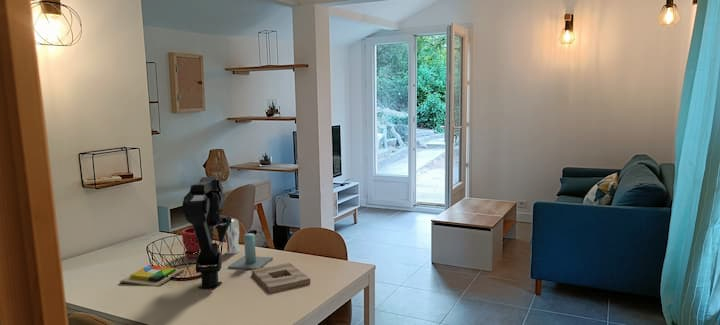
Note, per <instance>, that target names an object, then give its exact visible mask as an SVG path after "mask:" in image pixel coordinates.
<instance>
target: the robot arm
mask: <svg viewBox="0 0 720 325" xmlns="http://www.w3.org/2000/svg"><path fill="white" fill-rule="evenodd" d="M222 185H223V184H222V182H221V179H220V178H219V176H203V177H201V178H200V179H199V182H198V183H195V184H191V185H190V189H189V190H190V191H188V193H187V194H186V195H185V196H184V197H183V201H182V206H181V212H182V215H183V216H184V218H185V221H186V222H188V223H189V224H191V225H192V228H193V227H194V232H195V234H196V237H197V240H198V244H199V247H200V249H199V254H198V256H197V258H195V259H196V260H195V271H196V273H197V274H199V273H200V274H201V275H200V276H201V284H200V285H199V286H198V289H206V290H214V289H216V288H217V287H218V286H220V285H222V284H223V282H222V281H219V272H221V269H222V253H221V252H220V248H219V245H218V243H217V242H213V239H214V235H215V234H214V228H215V229H216V230H217V237H218V242H219V243H223V242H224V240H225V234H226V232H227V229H228V227H229V225H230V223H231V219H232V217H230V215H221V212H223V209H222V208H220V204H221V202H222V201H223V200H224V197H225V194H224V192H223V191H224V189H223V186H222ZM195 196H203V200H193V199H194V197H195Z"/></svg>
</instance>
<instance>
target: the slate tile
mask: <svg viewBox="0 0 720 325" xmlns="http://www.w3.org/2000/svg"><path fill="white" fill-rule="evenodd" d="M273 259H274V258H273V257H270V256H256V262H255V263H251V264H247V263H246V260H245V255H242V257H239V259H236V261H233V262H232V263H231V264H230V265H228V266H227V268H228V269H231V270H232V269H233V270H249V271H250V270H251V271H252V270H255V269H259V268H264V267H265V266H266V265H267V264H268V263H270V262H271V261H272V260H273Z"/></svg>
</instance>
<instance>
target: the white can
mask: <svg viewBox="0 0 720 325" xmlns="http://www.w3.org/2000/svg"><path fill="white" fill-rule="evenodd" d="M224 240H225V243H226V252H225V253H226V254H228V255H234V254H235V255H236V254H238V253H240V251H241V250H240V246H239V240H240V223H239V219H238V218H231V223H230V225H229V227H228V229H227V232H226V234H225V237H224Z"/></svg>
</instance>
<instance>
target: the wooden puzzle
mask: <svg viewBox="0 0 720 325" xmlns="http://www.w3.org/2000/svg"><path fill="white" fill-rule="evenodd" d="M152 265H153V266H154V267H155V268H154V267H153V266H152ZM156 268H157V269H156ZM184 271H185V268H184V267H182V268H180V269H178V268H176V267H168V266H161V265H157V264H156V265H155V264H151V263H150V264H149V265H147V266H145V267H143V268H140V269H139V270H136V271H135V272H133V273H131V274H130V275H128V276H126V277H125V278H122V279H121V280H119V284H123V283H127V284H134V285H141V286H149V287H160V286H162V285H163V284H165V283H167V282H169V280H171V279H172V278H171V277H173V278H175V277H176V276H177V274H178V275H179V274H181V273H183V272H184ZM168 275H170V276H169V277H166V276H168ZM170 278H171V279H170Z"/></svg>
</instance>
